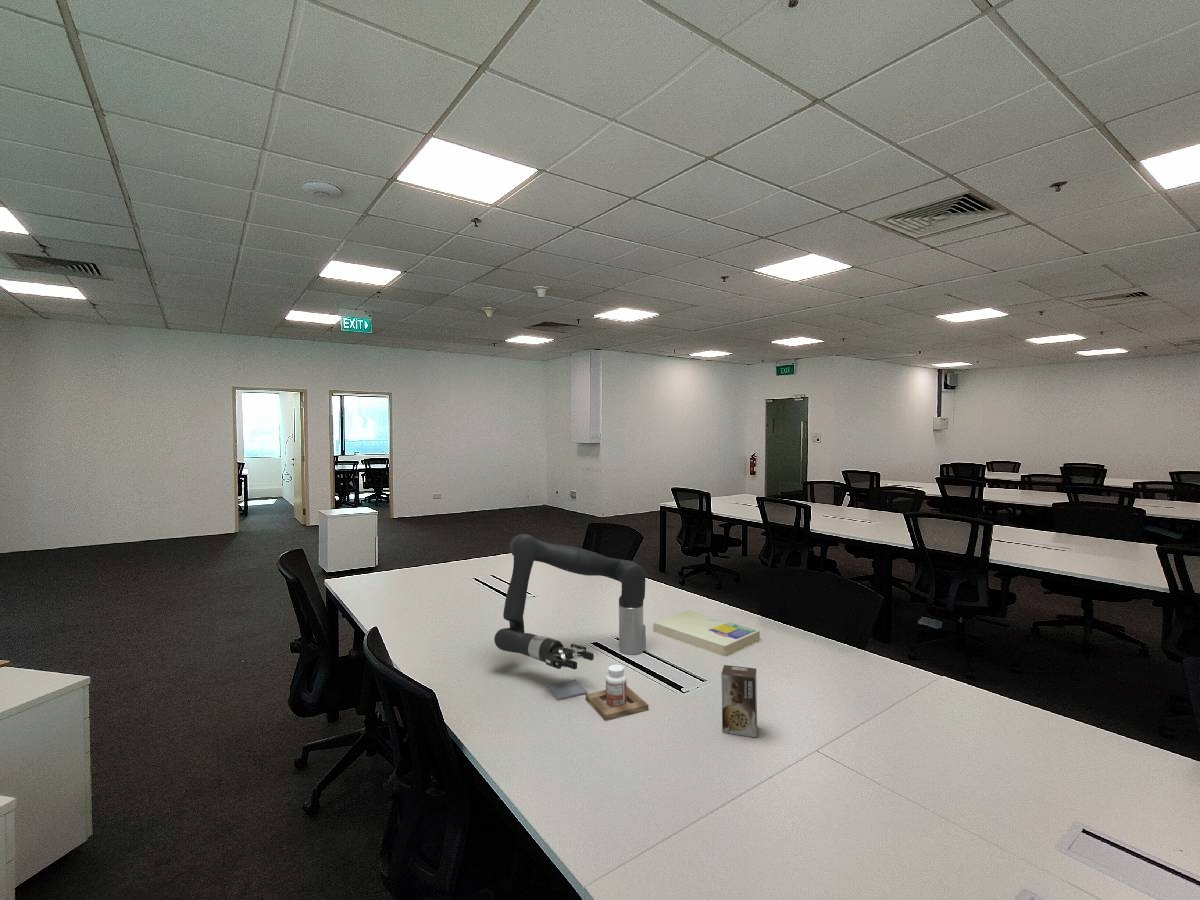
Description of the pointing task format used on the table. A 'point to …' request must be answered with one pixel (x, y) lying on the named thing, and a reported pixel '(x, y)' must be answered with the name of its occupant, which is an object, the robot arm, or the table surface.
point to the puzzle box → (707, 632)
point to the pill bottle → (616, 686)
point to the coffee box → (739, 701)
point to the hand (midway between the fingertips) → (585, 661)
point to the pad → (566, 689)
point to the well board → (611, 713)
